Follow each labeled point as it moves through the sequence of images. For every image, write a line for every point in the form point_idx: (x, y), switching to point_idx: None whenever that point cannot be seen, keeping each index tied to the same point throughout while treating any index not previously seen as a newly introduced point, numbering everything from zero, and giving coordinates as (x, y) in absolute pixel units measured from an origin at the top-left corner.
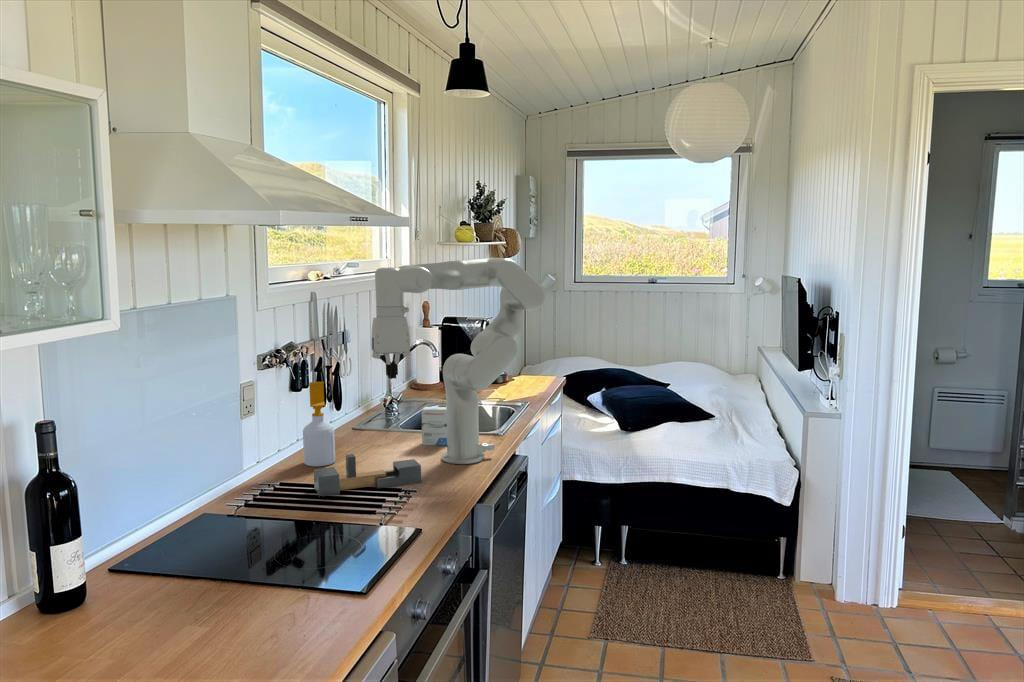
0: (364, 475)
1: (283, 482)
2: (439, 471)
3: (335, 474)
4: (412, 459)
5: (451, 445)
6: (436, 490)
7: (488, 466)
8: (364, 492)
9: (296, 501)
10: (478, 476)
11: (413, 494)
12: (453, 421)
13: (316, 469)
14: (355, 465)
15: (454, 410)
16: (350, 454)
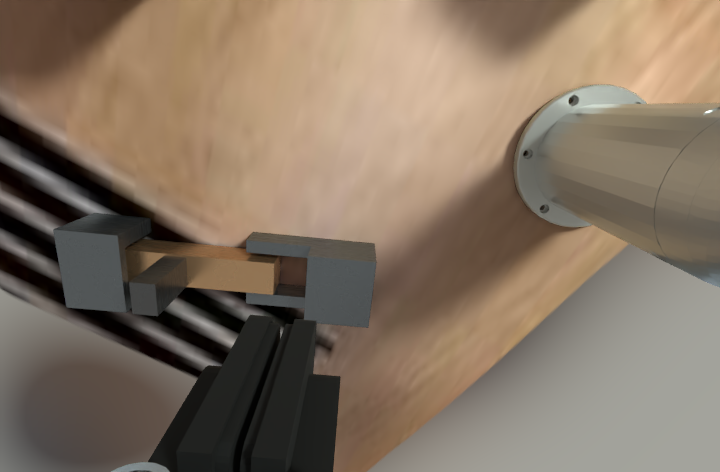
0: (212, 284)
1: (3, 109)
2: (452, 240)
3: (116, 306)
4: (370, 264)
5: (557, 186)
6: (375, 366)
7: (590, 265)
8: (215, 302)
9: (48, 286)
10: (514, 325)
11: (318, 365)
12: (618, 223)
13: (61, 234)
14: (171, 301)
15: (660, 247)
16: (145, 286)
